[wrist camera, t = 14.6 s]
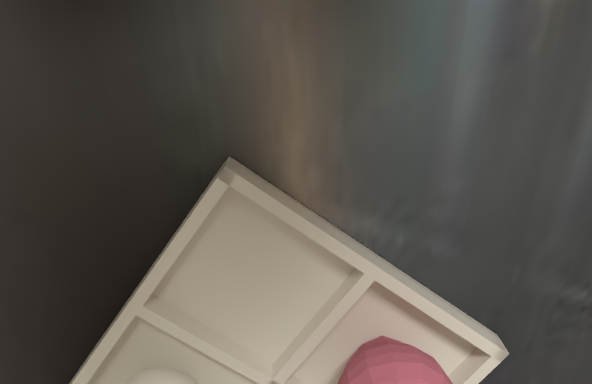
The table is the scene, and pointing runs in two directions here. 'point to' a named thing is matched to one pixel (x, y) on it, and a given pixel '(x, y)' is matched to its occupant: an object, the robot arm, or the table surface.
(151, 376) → the white ball
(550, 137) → the table surface
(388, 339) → the apple
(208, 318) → the tray
